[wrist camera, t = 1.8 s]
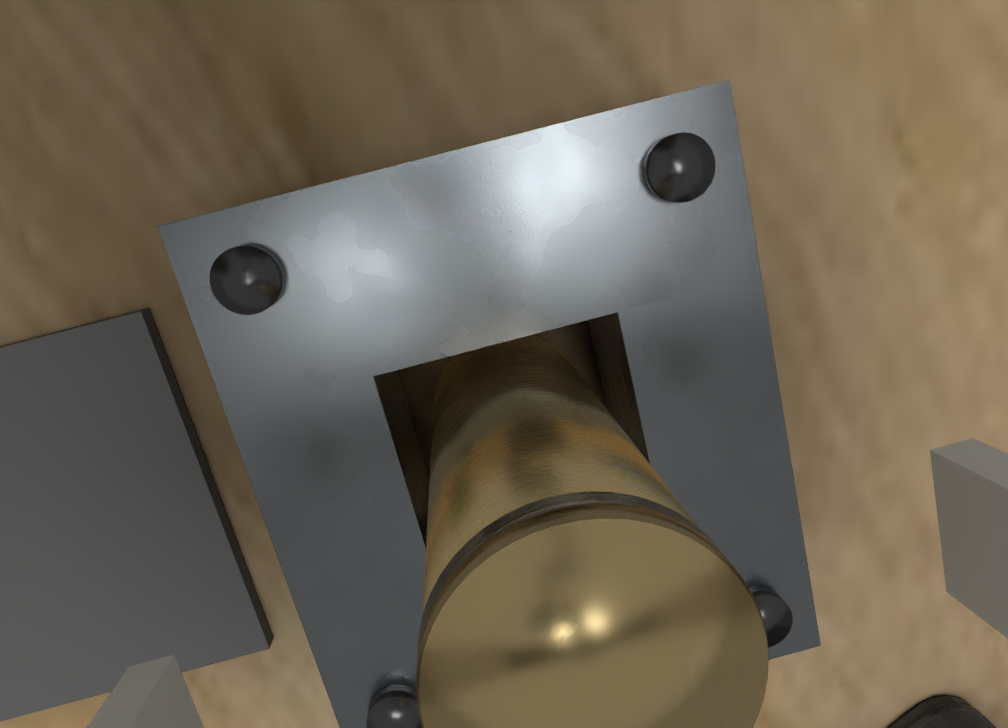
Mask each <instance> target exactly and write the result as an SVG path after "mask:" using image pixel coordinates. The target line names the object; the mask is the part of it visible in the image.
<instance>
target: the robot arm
mask: <svg viewBox="0 0 1008 728" xmlns="http://www.w3.org/2000/svg"><path fill="white" fill-rule="evenodd" d="M930 454H931V462H932V471H933V479H934V488H935V497H936V505H937V514H938V522H939V531H940V540H941V548H942V557H943V565H944V574H945V583H946V591H947V592H948V593H949V594H951V595H952V596H953V597H954V598H956V599H957V600H958V601H960V602H961V603H962V604H964V605H965V606H966V607H967V608H969V609H970V610H971V611H973V612H974V613H975V614H977V615H978V616H979V617H980V618H982V619H983V620H984V621H986V622H987V623H988V624H990V625H991V626H992V627H993V628H995V629H996V630H997V631H999V632H1000V633H1001V634H1003V635H1004V636H1005V637H1007V638H1008V454H1007V453H1005V452H1003V451H1000V450H998V449H996V448H994V447H991V446H989V445H987V444H985V443H982V442H980V441H978V440H975V439H969V440H965V441H962V442H958V443H954V444H951V445H947V446H943V447H940V448H936V449H932V450H930ZM87 728H204V727H203V724H202V722H201V719H200V717H199V714H198V712H197V709H196V707H195V705H194V702H193V700H192V697H191V695H190V692H189V690H188V688H187V685H186V683H185V680H184V678H183V675H182V673H181V671H180V668H179V666H178V663H177V661H176V658H175V656H174V655H170V656H167V657H163V658H159V659H156V660H152V661H148V662H145V663H141V664H137V665H133V666H130V667H128V668H127V670H126V671H125V673H124V674H123V676H122V677H121V679H120V680H119V681H118V683H117V684H116V686H115V687H114V689H113V690H112V692H111V693H110V695H109V696H108V697H107V699H106V700H105V702H104V703H103V705H102V706H101V708H100V709H99V710H98V712H97V713H96V715H95V716H94V718H93V719H92V721H91V722H90V724H89V725H88V726H87Z"/></svg>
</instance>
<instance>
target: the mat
mask: <svg viewBox="0 0 1008 728" xmlns="http://www.w3.org/2000/svg"><path fill="white" fill-rule="evenodd" d="M272 640H273V636H272V633H271V630H270V628H269V625H268V623H267V620H266V617H265V615H264V612H263V609H262V607H261V604H260V601H259V599H258V596H257V593H256V591H255V588H254V585H253V583H252V580H251V577H250V575H249V572H248V569H247V567H246V564H245V562H244V559H243V556H242V554H241V551H240V548H239V546H238V543H237V540H236V538H235V535H234V532H233V530H232V527H231V524H230V522H229V519H228V516H227V514H226V511H225V509H224V506H223V503H222V501H221V498H220V495H219V493H218V490H217V487H216V485H215V482H214V479H213V477H212V474H211V471H210V469H209V466H208V463H207V461H206V458H205V456H204V453H203V450H202V448H201V445H200V442H199V440H198V437H197V434H196V432H195V429H194V426H193V424H192V421H191V418H190V416H189V413H188V410H187V408H186V405H185V402H184V400H183V397H182V395H181V392H180V389H179V387H178V384H177V381H176V379H175V376H174V373H173V371H172V368H171V365H170V363H169V360H168V357H167V355H166V352H165V349H164V347H163V344H162V342H161V339H160V336H159V334H158V331H157V328H156V326H155V323H154V320H153V318H152V315H151V312H150V310H149V309H145V310H141V311H137V312H133V313H129V314H125V315H122V316H118V317H114V318H110V319H106V320H102V321H98V322H95V323H91V324H87V325H83V326H79V327H75V328H71V329H68V330H64V331H60V332H56V333H52V334H48V335H44V336H40V337H37V338H33V339H29V340H25V341H21V342H17V343H13V344H10V345H6V346H2V347H0V721H3V720H7V719H11V718H15V717H18V716H22V715H26V714H29V713H33V712H37V711H40V710H44V709H48V708H51V707H55V706H59V705H63V704H66V703H70V702H74V701H77V700H81V699H85V698H88V697H92V696H96V695H100V694H103V693H107V692H111V691H112V690H113V689H114V687H115V686H116V684H117V683H118V681H119V680H120V679H121V677H122V676H123V674H124V673H125V671H126V670H127V668H128V667H130V666H133V665H137V664H141V663H145V662H148V661H152V660H156V659H159V658H163V657H167V656H170V655H174V656H175V658H176V661H177V663H178V666H179V668H180V671H181V672H184V671H188V670H192V669H196V668H199V667H203V666H207V665H210V664H214V663H218V662H221V661H225V660H229V659H233V658H236V657H240V656H244V655H247V654H251V653H255V652H258V651H262V650H266V649H269V648H270V645H271V643H272Z"/></svg>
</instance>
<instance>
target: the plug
mask: <svg viewBox="0 0 1008 728" xmlns="http://www.w3.org/2000/svg"><path fill="white" fill-rule="evenodd" d="M768 658H769V651H768V642H767V633H766V629H765V625H764V621H763V618H762V614H761V612H760V609H759V607H758V605H757V602H756V600H755V598H754V595H753V594H752V592H751V591H750V589H749V587H748V586H747V584H746V583H745V581H744V579H743V578H742V576H741V575H740V574H739V573H738V571H737V570H736V569H735V568H734V566H733V565H732V564H731V563H730V561H729V560H728V559H727V557H726V556H725V555H724V554H723V552H722V551H721V550H720V549H719V548H718V546H717V545H716V544H715V543H714V542H713V541H712V539H711V538H710V537H709V536H708V535H707V534H706V533H705V532H704V531H702V530H701V529H700V528H699V527H698V526H697V524H696V523H695V522H694V520H693V519H692V518H691V517H690V515H689V514H688V513H687V511H686V510H685V509H684V507H683V506H682V505H681V504H680V502H679V501H678V500H677V498H676V497H675V496H674V495H673V493H672V492H671V491H670V489H669V488H668V487H667V486H666V484H665V483H664V482H663V480H662V479H661V478H660V477H659V475H658V474H657V473H656V471H655V470H654V469H653V468H652V466H651V465H650V464H649V462H648V461H647V460H646V458H645V457H644V456H643V455H642V453H641V452H640V451H639V449H638V448H637V447H636V446H635V444H634V443H633V442H632V440H631V439H630V438H629V437H628V435H627V434H626V433H625V431H624V430H623V429H622V428H621V426H620V425H619V424H618V422H617V421H616V420H615V419H614V417H613V416H612V415H611V413H610V412H609V411H608V409H607V408H606V407H605V406H604V404H603V403H602V402H601V400H600V399H599V398H598V397H597V395H596V394H595V393H594V391H593V390H592V389H591V388H590V386H589V385H588V384H587V382H586V381H585V380H584V379H583V377H582V376H581V375H580V373H579V372H578V371H577V370H576V368H575V367H574V366H573V364H572V363H571V362H570V360H569V359H568V358H567V357H566V356H565V355H564V353H563V352H561V351H560V350H559V349H558V348H557V347H556V346H554V345H553V344H551V343H550V342H548V341H546V340H544V339H542V338H540V337H538V336H535V335H529V336H525V337H521V338H517V339H514V340H510V341H506V342H502V343H498V344H495V345H491V346H487V347H483V348H479V349H476V350H472V351H468V352H464V353H460V354H457V355H454V356H453V357H452V358H451V359H450V360H449V361H448V363H447V364H446V366H445V367H444V369H443V370H442V372H441V374H440V376H439V379H438V382H437V385H436V388H435V393H434V401H433V420H432V440H431V460H430V480H429V500H428V520H427V540H426V561H425V581H424V601H423V615H422V620H421V625H420V629H419V638H418V654H417V672H416V698H417V709H418V713H419V717H420V721H421V725H422V728H752V727H753V725H754V723H755V721H756V719H757V717H758V714H759V711H760V708H761V705H762V702H763V699H764V695H765V689H766V684H767V678H768Z"/></svg>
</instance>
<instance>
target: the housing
mask: <svg viewBox="0 0 1008 728" xmlns="http://www.w3.org/2000/svg"><path fill="white" fill-rule="evenodd" d="M157 227H158V229H159V232H160V235H161V237H162V240H163V243H164V246H165V248H166V251H167V254H168V257H169V259H170V262H171V265H172V268H173V270H174V273H175V276H176V279H177V281H178V284H179V287H180V290H181V292H182V295H183V298H184V301H185V303H186V306H187V309H188V312H189V314H190V317H191V320H192V323H193V325H194V328H195V331H196V334H197V336H198V339H199V342H200V345H201V347H202V350H203V353H204V356H205V358H206V361H207V364H208V367H209V369H210V372H211V375H212V378H213V380H214V383H215V386H216V389H217V391H218V394H219V397H220V400H221V402H222V405H223V408H224V411H225V413H226V416H227V419H228V422H229V424H230V427H231V430H232V433H233V435H234V438H235V441H236V444H237V446H238V449H239V452H240V455H241V457H242V460H243V463H244V466H245V468H246V471H247V474H248V477H249V479H250V482H251V485H252V488H253V490H254V493H255V496H256V499H257V501H258V504H259V507H260V510H261V512H262V515H263V518H264V521H265V523H266V526H267V529H268V532H269V534H270V537H271V540H272V543H273V545H274V548H275V551H276V554H277V556H278V559H279V562H280V565H281V567H282V570H283V573H284V576H285V578H286V581H287V584H288V587H289V589H290V592H291V595H292V598H293V600H294V603H295V606H296V609H297V611H298V614H299V617H300V620H301V622H302V625H303V628H304V631H305V633H306V636H307V639H308V642H309V644H310V647H311V650H312V653H313V655H314V658H315V661H316V664H317V666H318V669H319V672H320V675H321V677H322V680H323V683H324V686H325V688H326V691H327V694H328V697H329V699H330V702H331V705H332V708H333V710H334V713H335V716H336V719H337V721H338V724H339V727H340V728H422V725H421V721H420V717H419V713H418V709H417V698H416V672H417V654H418V638H419V629H420V625H421V620H422V615H423V601H424V581H425V561H426V540H427V520H428V500H429V480H430V478H429V474H428V471H427V468H426V464H425V461H424V457H423V454H422V451H421V447H420V444H419V441H418V437H417V434H416V431H415V427H414V424H413V420H412V417H411V414H410V410H409V407H408V404H407V400H406V397H405V393H404V390H403V387H402V383H401V380H400V377H399V373H398V370H399V369H403V368H407V367H411V366H415V365H419V364H422V363H426V362H430V361H434V360H438V359H441V358H445V357H449V356H453V355H457V354H460V353H464V352H468V351H472V350H476V349H479V348H483V347H487V346H491V345H495V344H498V343H502V342H506V341H510V340H514V339H517V338H521V337H525V336H529V335H533V334H536V333H540V332H544V331H548V330H552V329H555V328H559V327H563V326H567V325H571V324H574V323H578V322H582V321H586V320H588V322H589V326H590V331H591V335H592V340H593V344H594V349H595V353H596V358H597V362H598V366H599V371H600V375H601V380H602V384H603V389H604V393H605V398H606V402H607V407H608V411H609V412H610V413H611V415H612V416H613V417H614V419H615V420H616V421H617V422H618V424H619V425H620V426H621V428H622V429H623V430H624V431H625V433H626V434H627V435H628V437H629V438H630V439H631V440H632V442H633V443H634V444H635V446H636V447H637V448H638V449H639V451H640V452H641V453H642V455H643V456H644V457H645V458H646V460H647V461H648V462H649V464H650V465H651V466H652V468H653V469H654V470H655V471H656V473H657V474H658V475H659V477H660V478H661V479H662V480H663V482H664V483H665V484H666V486H667V487H668V488H669V489H670V491H671V492H672V493H673V495H674V496H675V497H676V498H677V500H678V501H679V502H680V504H681V505H682V506H683V507H684V509H685V510H686V511H687V513H688V514H689V515H690V517H691V518H692V519H693V520H694V522H695V523H696V524H697V526H698V527H699V528H700V529H701V530H702V531H704V532H705V533H706V534H707V535H708V536H709V537H710V538H711V539H712V541H713V542H714V543H715V544H716V545H717V546H718V548H719V549H720V550H721V551H722V552H723V554H724V555H725V556H726V557H727V559H728V560H729V561H730V563H731V564H732V565H733V566H734V568H735V569H736V570H737V571H738V573H739V574H740V575H741V576H742V578H743V579H744V581H745V583H746V584H747V586H748V587H749V589H750V591H751V592H752V594H753V595H754V598H755V600H756V602H757V605H758V607H759V609H760V612H761V614H762V618H763V621H764V625H765V629H766V633H767V642H768V651H769V658H768V660H770V659H773V658H777V657H780V656H784V655H788V654H791V653H795V652H799V651H802V650H806V649H810V648H813V647H817V646H820V638H819V632H818V626H817V620H816V613H815V607H814V601H813V595H812V589H811V582H810V576H809V570H808V564H807V557H806V551H805V545H804V539H803V533H802V526H801V520H800V514H799V508H798V501H797V495H796V489H795V483H794V477H793V470H792V464H791V458H790V452H789V445H788V439H787V433H786V427H785V420H784V414H783V408H782V402H781V396H780V389H779V383H778V377H777V371H776V364H775V358H774V352H773V346H772V340H771V333H770V327H769V321H768V315H767V308H766V302H765V296H764V290H763V284H762V277H761V271H760V265H759V259H758V252H757V246H756V240H755V234H754V228H753V221H752V215H751V209H750V203H749V196H748V190H747V184H746V178H745V172H744V165H743V159H742V153H741V147H740V140H739V134H738V128H737V122H736V116H735V109H734V103H733V97H732V91H731V84H730V80H727V81H723V82H719V83H715V84H711V85H707V86H703V87H699V88H695V89H691V90H688V91H684V92H680V93H676V94H672V95H668V96H664V97H660V98H656V99H652V100H649V101H645V102H641V103H637V104H633V105H629V106H625V107H621V108H617V109H613V110H610V111H606V112H602V113H598V114H594V115H590V116H586V117H582V118H578V119H574V120H571V121H567V122H563V123H559V124H555V125H551V126H547V127H543V128H539V129H535V130H532V131H528V132H524V133H520V134H516V135H512V136H508V137H504V138H500V139H496V140H492V141H489V142H485V143H481V144H477V145H473V146H469V147H465V148H461V149H457V150H453V151H450V152H446V153H442V154H438V155H434V156H430V157H426V158H422V159H418V160H414V161H411V162H407V163H403V164H399V165H395V166H391V167H387V168H383V169H379V170H375V171H372V172H368V173H364V174H360V175H356V176H352V177H348V178H344V179H340V180H336V181H333V182H329V183H325V184H321V185H317V186H313V187H309V188H305V189H301V190H297V191H294V192H290V193H286V194H282V195H278V196H274V197H270V198H266V199H262V200H258V201H255V202H251V203H247V204H243V205H239V206H235V207H231V208H227V209H223V210H219V211H215V212H212V213H208V214H204V215H200V216H196V217H192V218H188V219H184V220H180V221H176V222H173V223H169V224H165V225H161V226H157Z"/></svg>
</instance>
